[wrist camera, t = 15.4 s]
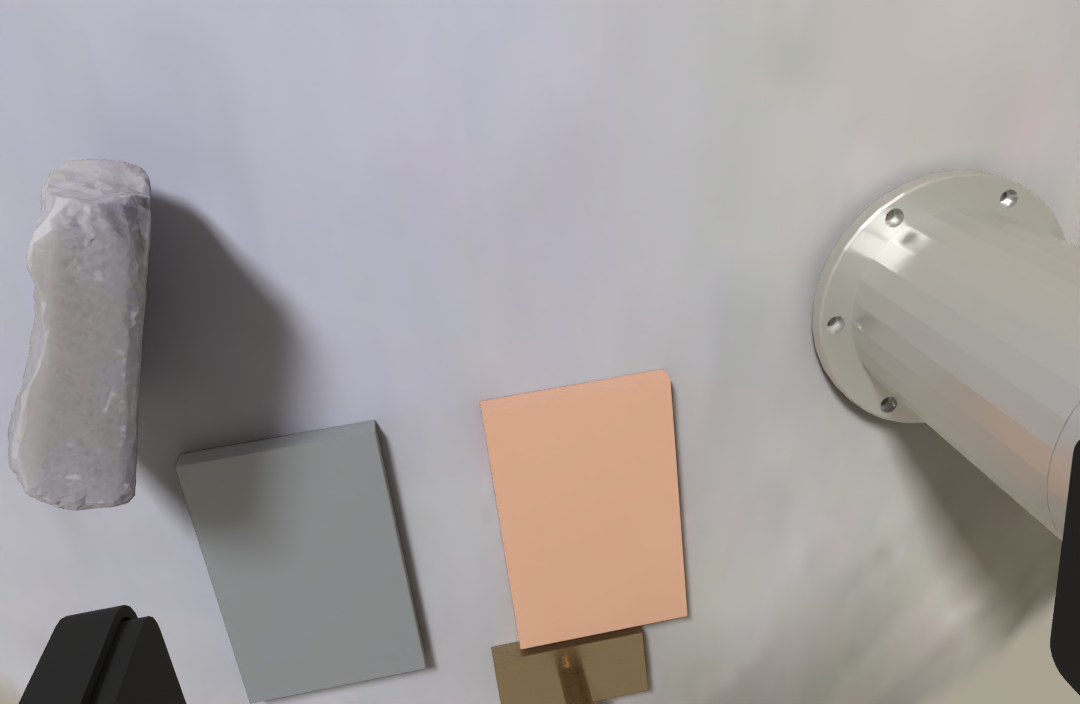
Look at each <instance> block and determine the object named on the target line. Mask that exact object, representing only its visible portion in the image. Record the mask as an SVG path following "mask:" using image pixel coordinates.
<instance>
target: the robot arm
mask: <svg viewBox="0 0 1080 704" xmlns="http://www.w3.org/2000/svg"><path fill="white" fill-rule="evenodd" d="M889 211H890V212H889ZM888 212H889V215H888V216H887V217H886V215H887V213H888ZM831 318H832V320H831V321H830V319H831ZM829 321H830V322H829ZM812 329H813V336H814V342H815V348H816V351H817V354H818V356H819V359H820V361H821V364H822V366H823V369H824V370H825V372H826V373H827V375H828V376H829V378H830V379H831V380H832V382H833V383H834V385H835V386H836V387H837V388H838V389H839V390H840V391H841V392H842V393H843V394H844V395H845V396H846V397H847V398H848V399H849V400H851V401H852V402H853V403H855V404H856V405H858V406H859V407H860V408H862V409H863V410H865V411H866V412H868V413H870V414H873V415H875V416H877V417H879V418H882V419H886V420H891V421H896V422H902V423H926V424H928V425H929V426H930V427H931V428H932V429H933V430H935V431H936V432H937V433H938V434H939V435H940V436H941V437H943V438H944V439H945V440H946V441H947V442H948V443H949V444H951V445H952V446H953V447H954V448H955V449H956V450H958V451H959V452H960V453H961V454H962V455H963V456H964V457H966V458H967V459H968V460H969V461H970V462H971V463H972V464H974V465H975V466H976V467H977V468H978V469H979V470H981V471H982V472H983V473H984V474H985V475H986V476H987V477H989V478H990V479H991V480H992V481H993V482H994V483H995V484H997V485H998V486H999V487H1000V488H1001V489H1002V490H1004V491H1005V492H1006V493H1007V494H1008V495H1009V496H1010V497H1012V498H1013V499H1014V500H1015V501H1016V502H1017V503H1019V504H1020V505H1021V506H1022V507H1023V508H1024V509H1025V510H1027V511H1028V512H1029V513H1030V514H1031V515H1032V516H1033V517H1035V518H1036V519H1037V520H1038V521H1039V522H1040V523H1042V524H1043V525H1044V526H1045V527H1046V528H1047V529H1048V530H1050V531H1051V532H1052V533H1053V534H1054V535H1055V536H1056V537H1058V538H1059V539H1060V540H1061V541H1062V547H1061V555H1060V564H1059V572H1058V580H1057V589H1056V597H1055V605H1054V613H1053V622H1052V630H1051V638H1050V648H1051V653H1052V657H1053V659H1054V662H1055V665H1056V667H1057V668H1058V670H1059V672H1060V674H1061V675H1062V676H1063V677H1064V679H1065V680H1066V681H1067V682H1068V683H1069V684H1070V685H1071V686H1072V688H1073V689H1074V690H1075V691H1076V692H1077V693H1078V694H1079V695H1080V247H1079V246H1076V245H1074V244H1072V243H1069V242H1067V241H1065V238H1064V234H1063V232H1062V230H1061V228H1060V226H1059V224H1058V222H1057V220H1056V218H1055V216H1054V214H1053V213H1052V212H1051V210H1050V209H1049V208H1048V207H1047V206H1046V205H1045V203H1044V202H1043V201H1042V200H1041V199H1040V198H1039V197H1038V196H1037V195H1035V194H1034V193H1032V192H1031V191H1030V190H1028V189H1027V188H1025V187H1024V186H1023V185H1021V184H1018V183H1016V182H1013V181H1011V180H1009V179H1006V178H1004V177H1001V176H998V175H994V174H990V173H986V172H983V171H976V170H950V171H944V172H938V173H932V174H928V175H926V176H923V177H920V178H917V179H914V180H912V181H909V182H906V183H904V184H903V185H901V186H899V187H897V188H895V189H894V190H892V191H890V192H888V193H887V194H885V195H883V196H882V197H881V198H879V199H878V200H877V201H876V202H874V203H873V204H872V205H871V206H869V207H868V208H867V209H866V210H864V211H863V212H862V213H861V214H860V215H859V216H858V217H857V218H856V220H855V221H854V222H853V223H852V224H851V225H850V226H849V227H848V229H847V230H846V231H845V232H844V233H843V234H842V236H841V238H840V239H839V241H838V242H837V244H836V245H835V247H834V249H833V250H832V252H831V253H830V255H829V257H828V259H827V261H826V264H825V266H824V268H823V271H822V273H821V275H820V278H819V280H818V285H817V289H816V293H815V298H814V302H813V317H812ZM19 704H186V702H185V699H184V696H183V693H182V690H181V687H180V685H179V682H178V679H177V676H176V673H175V670H174V668H173V665H172V662H171V659H170V656H169V653H168V651H167V648H166V645H165V642H164V639H163V636H162V634H161V631H160V628H159V626H158V624H157V622H156V620H155V619H154V618H153V617H150V616H147V617H142V618H138V617H137V615H136V613H135V612H134V611H133V609H132V608H131V607H129V606H126V605H122V606H117V607H112V608H106V609H101V610H96V611H91V612H85V613H80V614H75V615H70V616H66V617H64V618H62V619H61V620H60V621H59V623H58V624H57V625H56V627H55V629H54V631H53V633H52V635H51V637H50V640H49V642H48V644H47V646H46V648H45V650H44V652H43V654H42V656H41V658H40V660H39V662H38V664H37V666H36V669H35V671H34V673H33V675H32V677H31V679H30V681H29V683H28V685H27V687H26V689H25V691H24V693H23V696H22V698H21V700H20V702H19Z"/></svg>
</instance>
